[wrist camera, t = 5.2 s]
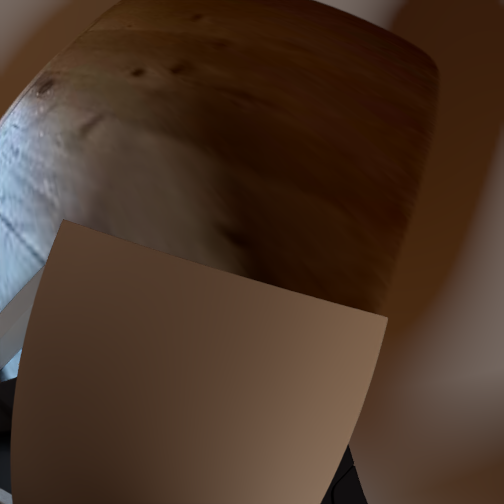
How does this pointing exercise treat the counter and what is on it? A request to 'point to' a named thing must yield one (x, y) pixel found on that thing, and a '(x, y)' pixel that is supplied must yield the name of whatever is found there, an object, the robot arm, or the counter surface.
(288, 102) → the counter surface
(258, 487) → the walnut block
